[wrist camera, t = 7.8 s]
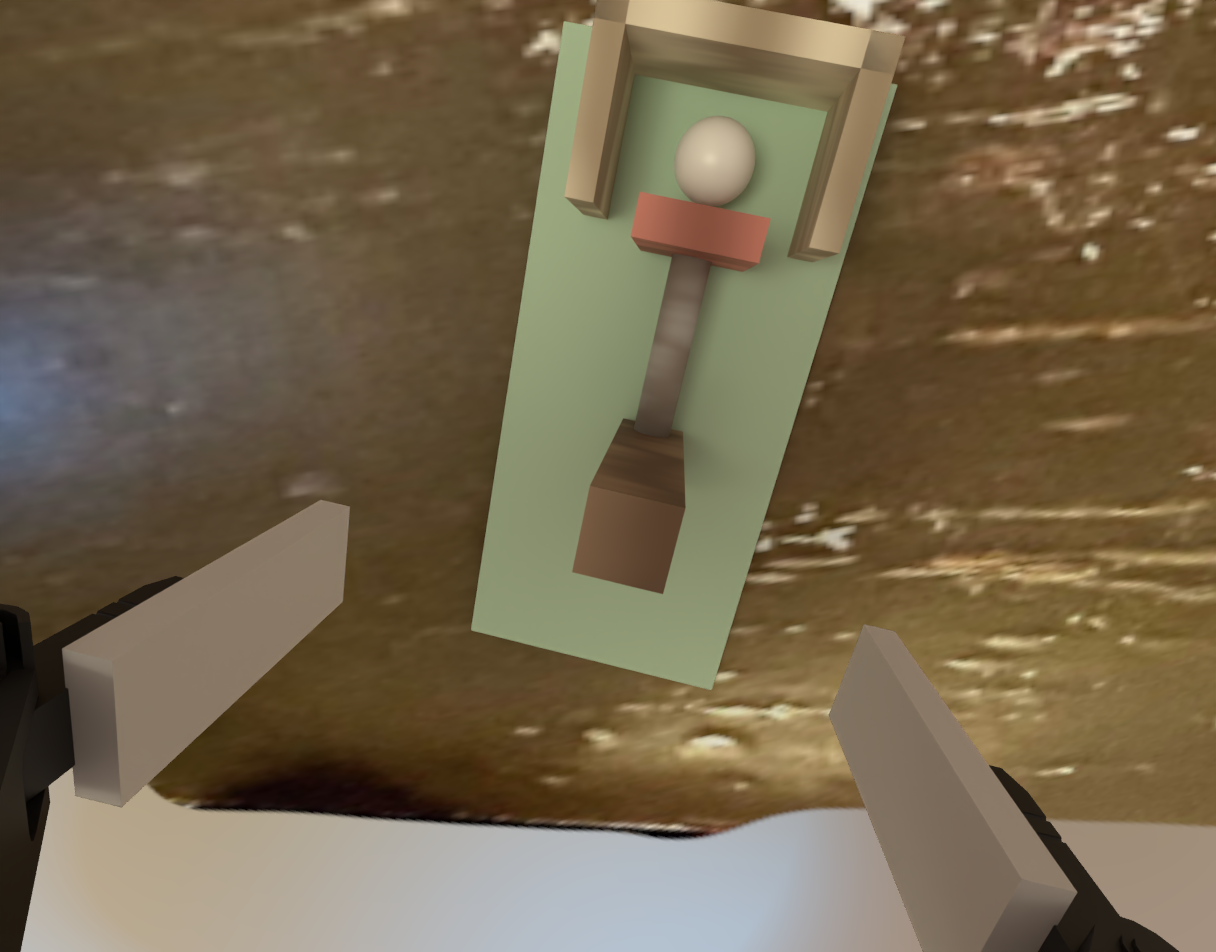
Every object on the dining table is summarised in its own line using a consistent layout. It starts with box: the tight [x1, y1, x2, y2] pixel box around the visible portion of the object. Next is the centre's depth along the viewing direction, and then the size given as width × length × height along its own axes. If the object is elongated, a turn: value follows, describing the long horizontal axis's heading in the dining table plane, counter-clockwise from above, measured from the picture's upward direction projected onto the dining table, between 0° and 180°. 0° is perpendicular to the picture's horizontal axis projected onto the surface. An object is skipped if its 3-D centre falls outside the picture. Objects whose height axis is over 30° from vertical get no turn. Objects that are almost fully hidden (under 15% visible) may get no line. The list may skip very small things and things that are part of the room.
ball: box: [674, 116, 756, 207], centre depth 26 cm, size 4×4×4 cm
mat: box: [471, 21, 897, 690], centre depth 31 cm, size 15×32×1 cm, turn 168°
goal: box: [564, 0, 905, 262], centre depth 25 cm, size 11×7×5 cm, turn 78°
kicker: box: [572, 192, 771, 594], centre depth 24 cm, size 5×13×12 cm, turn 168°
